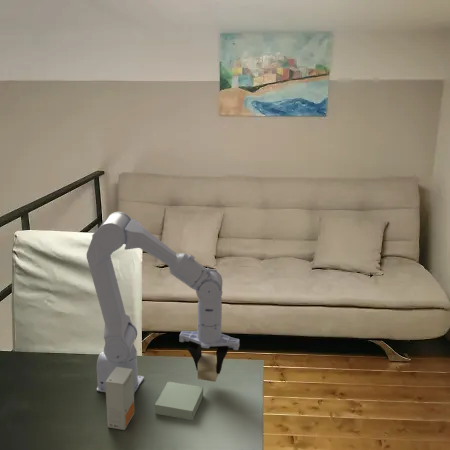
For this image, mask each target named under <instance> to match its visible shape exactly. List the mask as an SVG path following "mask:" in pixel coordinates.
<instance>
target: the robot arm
mask: <svg viewBox="0 0 450 450" xmlns="http://www.w3.org/2000/svg"><path fill="white" fill-rule="evenodd" d="M91 237H92V238H91V241H90V243H89V246H88V248H87V252H86V259H87V264H88V267H89V269H90V270H89V271H90V273H91V277H92V282H93V286H94V288H95V292H96V296H97V300H98V303H99V308H100V310H101V314H102V318H103V321H104V332H103V339H104V347H103V350H102V351H101V352H100V353H99V355H98V357H97V361H96V377H97V378H96V379H97V387H96V391H97V392H100V393H106V388H105V382H106V380H107V379H108V377H109V376H110V374H111V373H112V372H113V371H114V369H115V368H116V367H122V368H129V369H133V385H134V394H135V392H136V391H137V390H138V388H139V387H140V386H141V383H142V382H143V381H144V377H145V376H144V375H138V374H139V373H138V355H137V354H138V353H137V352H138V351H137V348H136V346H135V344H134V343H135V341H136V338H137V337H138V329H137V327H136V326H135V325H134V324H133V322H132V321H131V317H130V315H127V314H126V311H125V307H124V302H123V299H122V294H121V291H120V287H119V283H118V279H117V277H116V272H115V268H114V267H115V266H114V264H113V260H112V257H111V256H112V254H113V253H114V252H115V251H118V250H119V249H121V248H122V247H123V245H125V247H124V250H126V251H127V250H134V249H140V250H142V251H144V252H146V253H147V254H148V255H150V256H152V257H154V258H155V259H157V261H160V262H162V263H163V264H164V265H166V266H168V268H169V269H168V270H169V273H170V275H172V276H173V277H175V278H176V279H178V280H179V281H181V282H182V284H183V283H184V284H185V285H186V286H188V287H189V288H190V289H193V290H194V291H195V293H196V296H197V298H198V302H197V330H196V331H193V330H191V331H185V330H182V331H181V332H180V334H179V339H178V340H179V342H180V343H185V342H188V346H187V351H188V352H189V354H190V356H191V357H192V359H193V362H194V365H195V370H196V371H198V361H199V359H200V357H201V355H202V349H210V347H218V348H217V349H216V352H215V355H216V356H217V374H218V375H220V374H221V371H222V367H223V366H222V365H223V363H224V360H225V358H226V356H227V354H228V353H229V352H228V351H229V350H230V349H233V350H234V351H239V348H240V339H239V338H235V337H231V336H229V335H227V334H224V333H222V320H223V319H222V316H223V315H222V313H223V312H222V310H223V309H222V308H223V307H222V306H223V303H222V296H223V278H222V275H221V274H220V273H219V272H218V270H217V269H214V268H210V267H207V268H206V267H205V266H204V265H202V264H201V263H199V262H198V261H197V260H195V258H196V257H195V256H194V255H192V254H187V253H185V252H182V253H177V252H175V251H174V250H173V249H171V248H170V247H169V246H167V244H165V243H163V242H162V241H161V240H160V239H159V238H158V237H156V236H155V235H154V234H152V233H151V232H150V231H149V230H147V229H146V228H145V227H144V226H143V225H142V224H141V223H140V222H139V221H138V220H136V219H134V218H131V217H130V216H129V214H127V213H125V212H122V211H115V212H112V213H111V214H109V215H108V216H107V217H106V218H105V220H103V221H102V223H101V224H100V225H99V227H98V228H97V230H95V232H94V233H93V234H92V235H91Z"/></svg>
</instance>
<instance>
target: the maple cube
mask: <svg viewBox="0 0 450 450" xmlns="http://www.w3.org/2000/svg"><path fill="white" fill-rule="evenodd" d="M218 377H219V374H217V356H216V354H210V353H207V352H206V353H204V352H201V357H200V359H199V361H198V370H197V380H202V381H208V382H209V381H210V382H216V381H217V379H218Z"/></svg>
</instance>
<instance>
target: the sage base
mask: <svg viewBox="0 0 450 450" xmlns="http://www.w3.org/2000/svg"><path fill="white" fill-rule="evenodd" d="M203 397H204V387H203V386H198V385H193V384H187V383H185V384H184V383H180V382H179V383H178V382H175V381H174V382H173V381H167V383H166V385H165V386H164V388H163V389H162V392H161V393H160V395H159V397H158V398H157V400H156V402H155V404H154V414H155V415H161V416H167V417H172V418H178V419H184V420H188V421H193V420H194V418H195V416H196V413H197V411H198V409H199V406H200V405H201V402H202V401H203Z"/></svg>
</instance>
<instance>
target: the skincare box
mask: <svg viewBox="0 0 450 450" xmlns="http://www.w3.org/2000/svg"><path fill="white" fill-rule="evenodd" d="M105 388H106V392H105V402H106V420H107V428H110V429H116V430H122V431H126V428H127V427H128V425H129V423H130V421H131V420H132V419H133V417H134V415H135V393H134V385H133V369H129V368H122V367H116V368H115V369H114V371H113V372H112V373H111V374H110V376H109V377H108V379H107V380H106V382H105Z"/></svg>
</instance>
